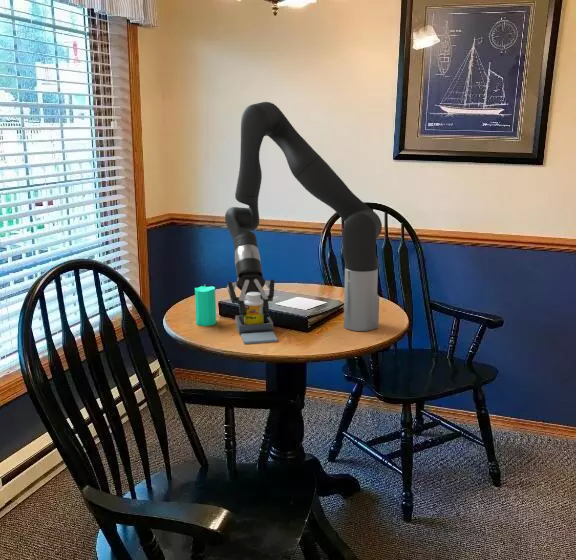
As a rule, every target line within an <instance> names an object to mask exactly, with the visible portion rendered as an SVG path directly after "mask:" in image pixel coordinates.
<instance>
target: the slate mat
mask: <svg viewBox="0 0 576 560" xmlns="http://www.w3.org/2000/svg"><path fill="white" fill-rule="evenodd" d="M240 337H241V340H242V342H243V344H244V345H249V344H263V343H265V344H266V343H277V342H278V337H277V335H276V334H275V332H260V333H246V334H240Z"/></svg>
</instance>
